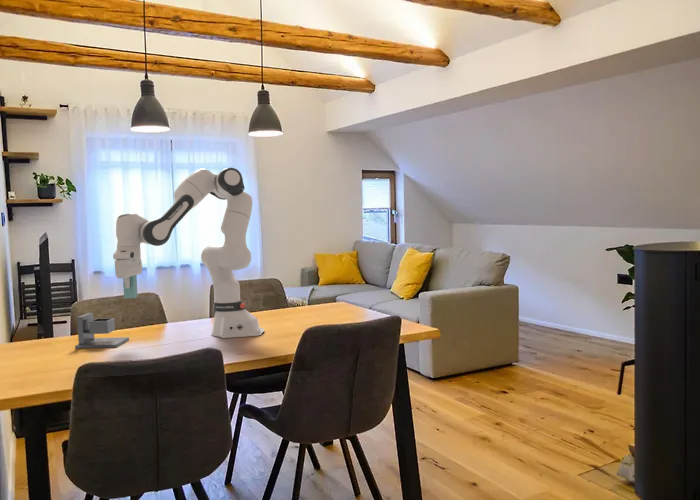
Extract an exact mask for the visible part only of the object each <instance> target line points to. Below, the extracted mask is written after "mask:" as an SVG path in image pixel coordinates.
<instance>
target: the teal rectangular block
mask: <svg viewBox="0 0 700 500" xmlns="http://www.w3.org/2000/svg"><path fill="white" fill-rule="evenodd" d="M137 279H138V278H137V275H134V276H131V277H130V284H131V288H125V283H124V280H123V281H122V282H123V283H122V284H123V299H136V298H138V280H137Z"/></svg>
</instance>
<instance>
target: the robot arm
mask: <svg viewBox="0 0 700 500" xmlns="http://www.w3.org/2000/svg"><path fill="white" fill-rule="evenodd" d="M209 194H210V195H212V196H214V197H215V198H217V199H218V200H226V203H227V204H226V208H225V212H224V216H223V218H222V222H221V226H220V230H221V231H220V232H222V234H223V235H224V242H223V243H224V244H220V243H219V244H217V243H215V244H211V245H208V246H206V247H204V248H203V250H202V252H201V254H200V260H201V262H202V264H203V266H205V268H206V269H207V271H208V272H209V275H210V277H211V280H212V286H213V287H212V288H213V299H214V301H213V303H212V304H213V305H212V308H213V315H214V316H213V317H214V318H213V320H214V321H213V327H212V332H211V336H214V337H219V338H222V339H228V338H230V339H231V338H243V337H244V338H245V337H246V338H247V337H258V336H261V335H263V334H264V333H265V329H264V328H262V327H260V324H259V320H258V318H257V317H256V316H255V315H254V314H252V313H251V312H250V311H248V310H247V309H246V302H244V301H242V300H241V285H240V282H239V280H238V279H236V277H235V276H234V273H233V271H238V270H243V269H246V268H248V267H249V265H250V264H251V261H252V253H251V251H250V249H249V247H248V245H247V241H246V240H247V238H246V237H247V231H248V227H249V223H250V220H251V215H252V210H253V198H252V196H251V195H250V194H249V193H248V192H245V185H244V179H243V175H242V173H241V172H240V171H239V170H238V169H237V168H234V167H227V168H226V167H225V168H224V169H222V170H221V171H219V173H218V174H215V173H213V172H211V170H209V169H206V168H203V167H202V168H199V169H197V170H196V171H194V172H192V173H191V174H190V175H189V176H187V177H186V178H185V179H184V180H183V181H182V182H181V183H179V185H178V186H177V188H176V189H175V190H174V193H173V196H174V197H173V198H174V202H173V204H172V205H171V207H170V208H169V209H168V210H167V211H166V212H165V213H164V214H163V215H162V216H161V217H160V218H157V219H154V220H149V219H147V218H145V217H143V216H141V215H139V214H137V213H136V212H130V213H124V214H121V215H119V216H118V217H117V219H116V222H115V235H116V238H117V239H116V240H117V243H116V250H115V252H114V253H113V256H112V258H113V260H114V272H115V276H116V278H117V279H123V280H124V283H125V288H131V284H130V277H131V276H134V275H141V274H143V264H142V259H141V258H142V257H141V255H142V254H141V253H142V252H141V244H142V243H143V244H146V245H151V246H156V247H159V246H163V245H164V244H166V243H168V241H169V240H170V238H171V236H172V232H173V231H174V229H175V227H176V226H177V225H178V224H179V223H180V222H181V220H183V218H184V217H186V215H187V214H188V213H189V212H190V211H191V210H193V209H194V208H195V207H196V206H197V205H198V204H199V203H201V201H203V200H204V199H205V198H206V197H207V196H208V195H209ZM263 332H264V333H263ZM262 333H263V334H262Z"/></svg>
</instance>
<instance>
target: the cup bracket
mask: <svg viewBox="0 0 700 500" xmlns="http://www.w3.org/2000/svg"><path fill="white" fill-rule="evenodd" d="M76 320H77V334H78V335H77V338H78V339H77V340H78V344H76V345H75V346H74V349H80V350H82V349H110V348H114V349H115V348H119V346H122V345H123V344H125V343H127V342H129V341H130V337H129V336H125V337H95V335H97V334H98V335H102V334H103V335H106V334H110V333H111V332H114V331H115V330H116V325H115V323H116V322H115V317H107V318H106V317H105V318H104V317H103V318H95V319H94V312H87V313H85V314H82V315H79V316H77V319H76Z"/></svg>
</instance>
